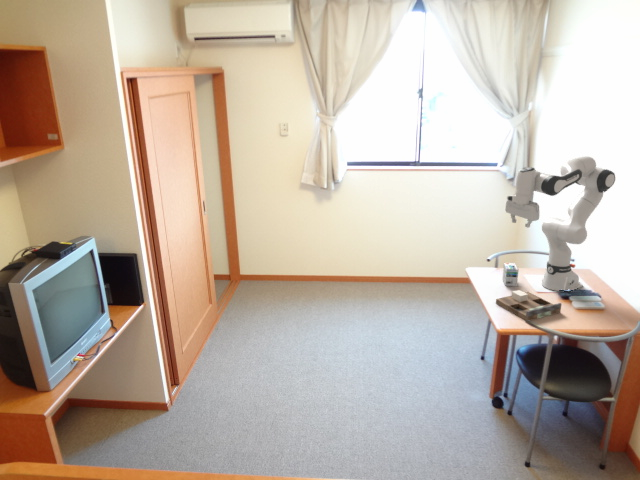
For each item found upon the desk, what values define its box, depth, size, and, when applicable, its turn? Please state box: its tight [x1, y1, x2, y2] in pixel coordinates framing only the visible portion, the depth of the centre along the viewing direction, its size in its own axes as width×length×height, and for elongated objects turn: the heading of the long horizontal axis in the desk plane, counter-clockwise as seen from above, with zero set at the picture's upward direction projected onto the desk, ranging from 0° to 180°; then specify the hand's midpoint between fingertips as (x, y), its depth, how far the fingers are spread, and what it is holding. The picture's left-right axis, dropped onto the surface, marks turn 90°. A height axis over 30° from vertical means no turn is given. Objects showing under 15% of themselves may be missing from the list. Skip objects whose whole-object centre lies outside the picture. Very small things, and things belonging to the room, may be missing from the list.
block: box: [511, 289, 528, 302], centre depth 252 cm, size 5×6×4 cm
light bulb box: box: [502, 262, 519, 287], centre depth 277 cm, size 11×7×11 cm, turn 168°
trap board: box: [495, 291, 562, 321], centre depth 247 cm, size 22×22×5 cm
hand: (520, 224), depth 249 cm, fingers open, 8 cm apart
